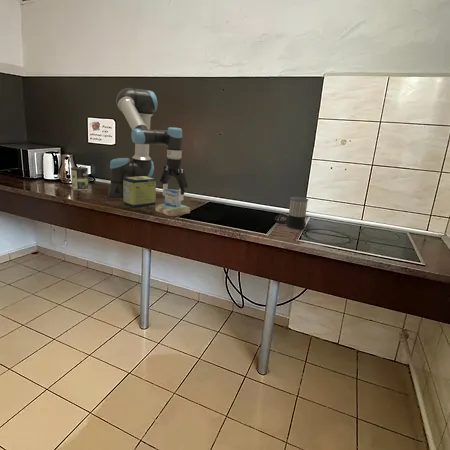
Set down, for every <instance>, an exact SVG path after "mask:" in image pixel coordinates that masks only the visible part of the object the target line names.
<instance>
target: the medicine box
mask: <svg viewBox="0 0 450 450" xmlns="http://www.w3.org/2000/svg"><path fill="white" fill-rule="evenodd" d="M181 203H182V201H179V189H173V188H168V189H166V190H165V196H164V204H165V205H167V206H172V207H179V206H181V205H182V204H181Z"/></svg>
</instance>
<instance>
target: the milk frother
mask: <svg viewBox="0 0 450 450" xmlns="http://www.w3.org/2000/svg"><path fill="white" fill-rule="evenodd" d="M289 199H290V200H289V201H290V202H289V210H288V214H284V213H283V214H282V213H281V214H278V215H276V216H275V217H274V221H275V222H277V223H280V224H285V223H286V226H287V227H289V228H290V229H296V230H297V229H298V230H303V229H305V223H306V214H307V208H308V207H307V206H308V201H309V199H308V198H307V197H303V196H302V197H301V196H291V197H290V198H289ZM282 218H286V219H285V220H282Z"/></svg>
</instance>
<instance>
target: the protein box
mask: <svg viewBox="0 0 450 450" xmlns="http://www.w3.org/2000/svg"><path fill="white" fill-rule="evenodd" d="M156 184H157V178H154V177H152V176H151V177H147V176H139V177H124V178H123V196H124V198H123V205H126V206H128V207H130V208H140V207H147V206H155V205H157V204H156V197H157V196H156V195H157V194H156V193H157V192H156V191H157V190H156V189H157V185H156Z"/></svg>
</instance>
